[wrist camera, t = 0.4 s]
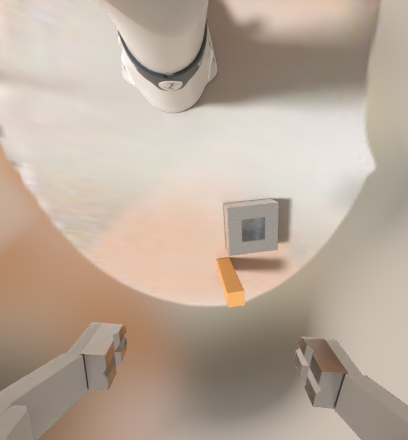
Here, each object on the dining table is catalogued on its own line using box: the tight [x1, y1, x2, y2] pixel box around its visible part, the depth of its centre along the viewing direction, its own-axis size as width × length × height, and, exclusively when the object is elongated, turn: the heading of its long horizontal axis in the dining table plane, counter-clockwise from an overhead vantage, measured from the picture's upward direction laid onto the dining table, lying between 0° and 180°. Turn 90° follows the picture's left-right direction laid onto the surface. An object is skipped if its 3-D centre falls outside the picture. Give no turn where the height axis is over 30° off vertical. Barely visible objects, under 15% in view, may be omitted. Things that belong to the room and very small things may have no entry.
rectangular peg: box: [217, 258, 245, 307], centre depth 45 cm, size 4×4×14 cm
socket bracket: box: [223, 198, 279, 256], centre depth 47 cm, size 12×12×5 cm
